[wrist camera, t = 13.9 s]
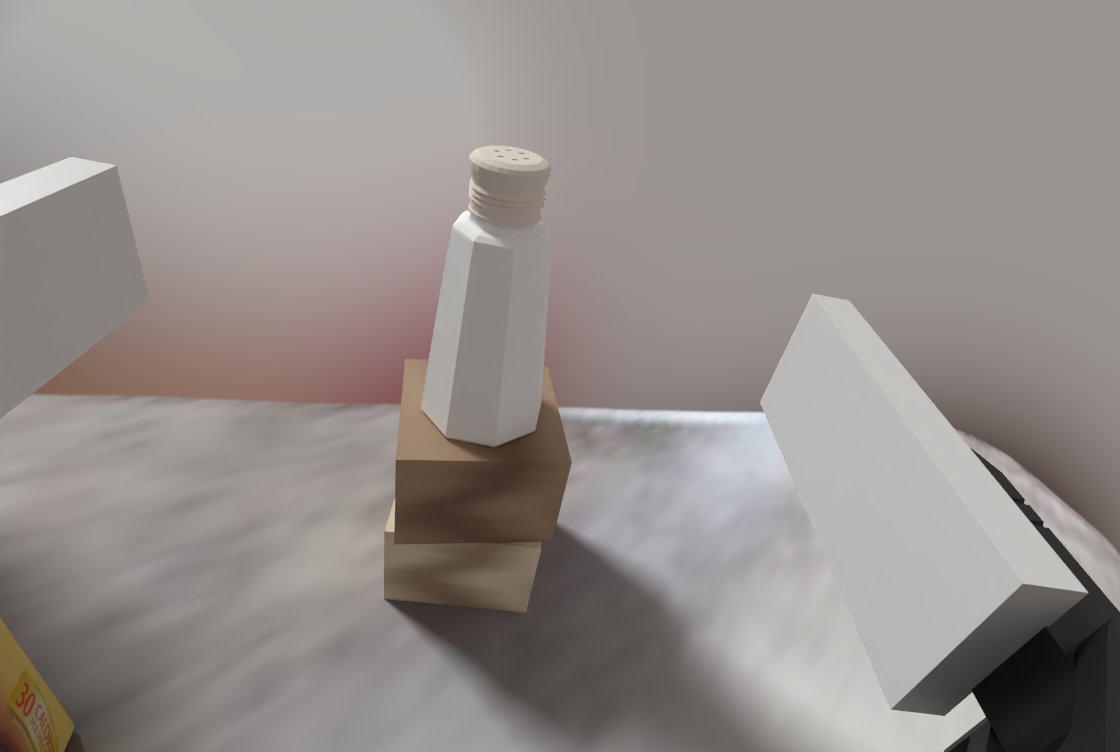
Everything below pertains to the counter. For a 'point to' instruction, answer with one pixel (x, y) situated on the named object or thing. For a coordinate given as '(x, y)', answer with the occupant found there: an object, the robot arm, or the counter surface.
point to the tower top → (476, 477)
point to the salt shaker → (493, 305)
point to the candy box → (28, 704)
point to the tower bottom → (460, 572)
